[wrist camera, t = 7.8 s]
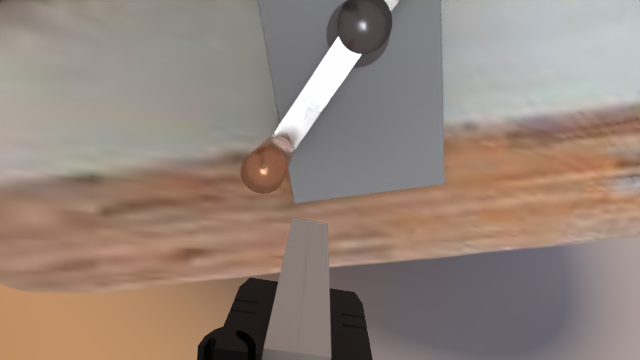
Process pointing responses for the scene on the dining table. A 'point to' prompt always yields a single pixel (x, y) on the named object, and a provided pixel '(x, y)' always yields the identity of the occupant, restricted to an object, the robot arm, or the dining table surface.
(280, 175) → the lever
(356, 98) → the base
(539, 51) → the dining table surface
